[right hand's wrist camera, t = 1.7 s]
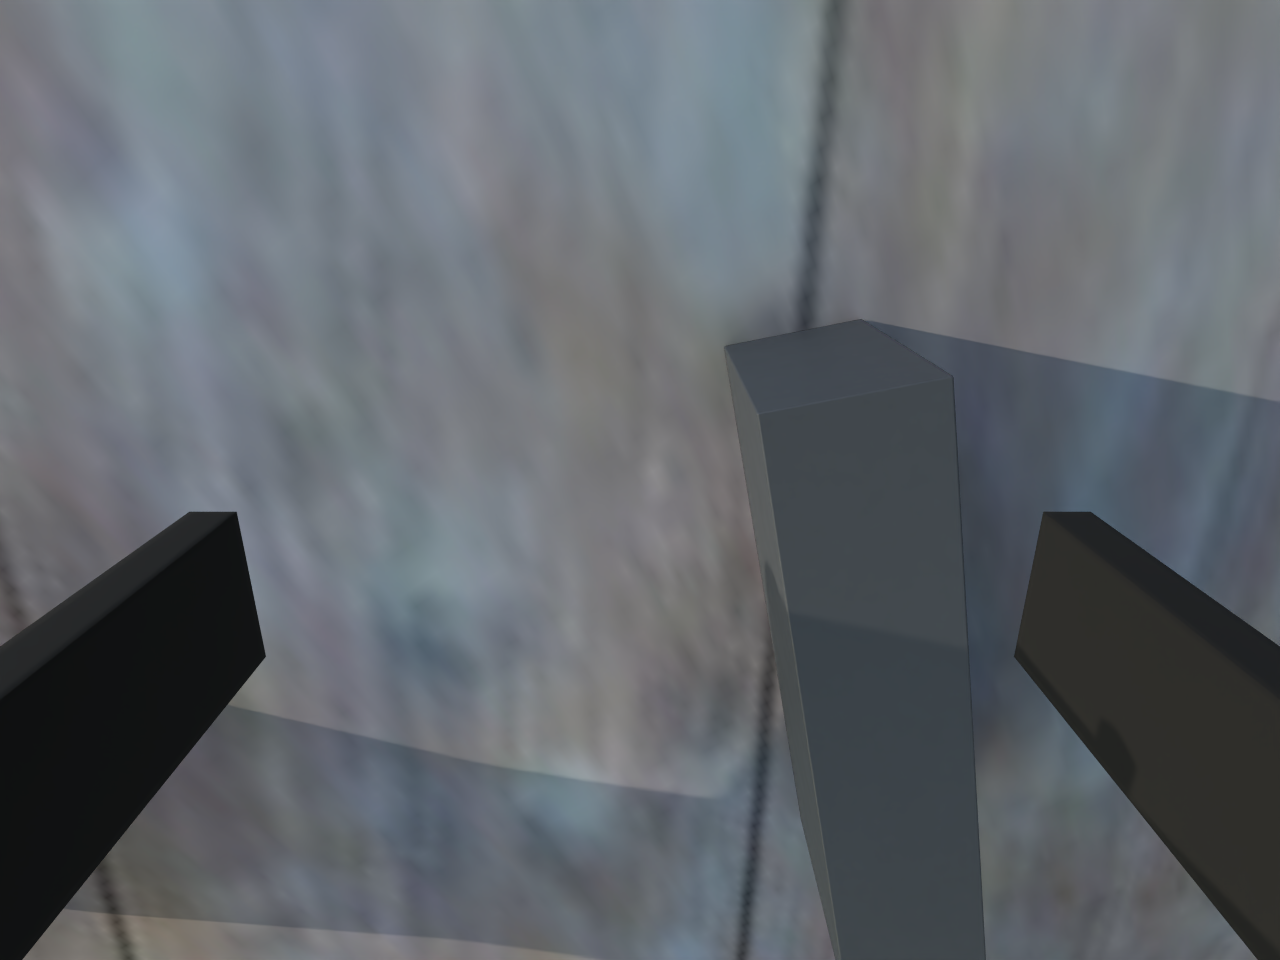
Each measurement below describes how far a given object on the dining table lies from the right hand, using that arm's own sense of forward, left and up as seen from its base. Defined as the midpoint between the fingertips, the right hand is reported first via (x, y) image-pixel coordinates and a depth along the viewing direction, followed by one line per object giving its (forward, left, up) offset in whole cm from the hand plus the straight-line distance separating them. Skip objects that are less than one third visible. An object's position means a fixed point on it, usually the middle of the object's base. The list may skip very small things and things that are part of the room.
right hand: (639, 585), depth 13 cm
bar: (-2, +13, -17) cm, 21 cm away
